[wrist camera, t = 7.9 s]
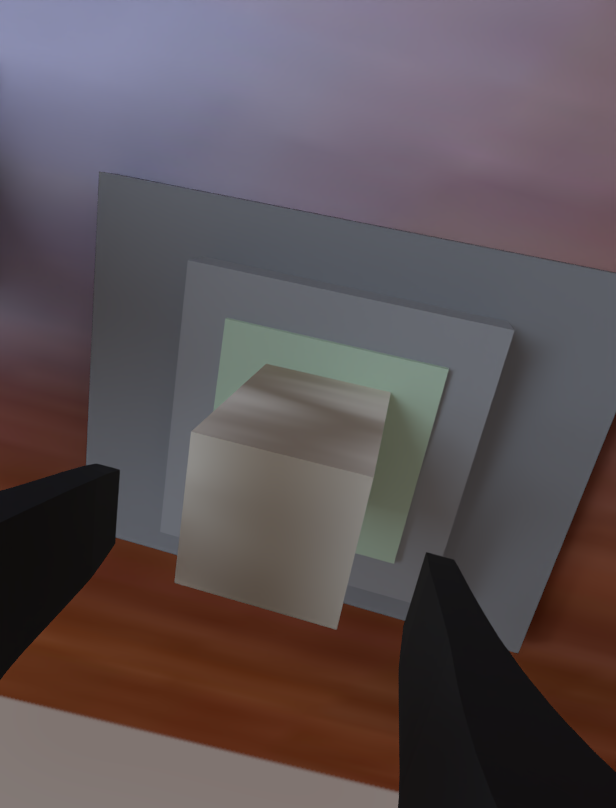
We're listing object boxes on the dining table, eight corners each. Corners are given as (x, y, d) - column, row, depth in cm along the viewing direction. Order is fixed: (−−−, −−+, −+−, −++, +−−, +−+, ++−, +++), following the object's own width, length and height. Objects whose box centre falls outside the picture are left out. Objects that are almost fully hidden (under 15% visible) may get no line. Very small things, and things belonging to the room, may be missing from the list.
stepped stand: (96, 516, 24) (58, 550, 22) (114, 173, 19) (68, 167, 17) (514, 634, 22) (525, 688, 19) (654, 280, 17) (693, 291, 14)
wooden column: (248, 474, 19) (174, 582, 13) (266, 363, 17) (191, 431, 12) (363, 504, 18) (336, 629, 13) (390, 392, 17) (373, 477, 11)
